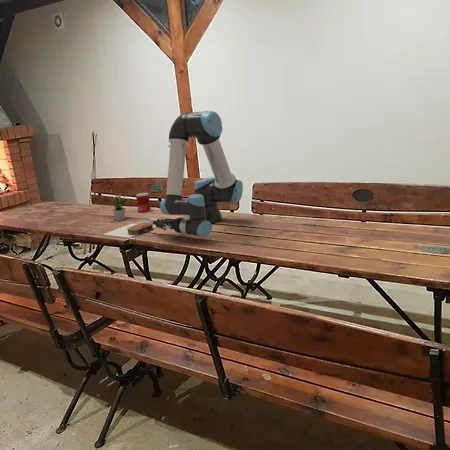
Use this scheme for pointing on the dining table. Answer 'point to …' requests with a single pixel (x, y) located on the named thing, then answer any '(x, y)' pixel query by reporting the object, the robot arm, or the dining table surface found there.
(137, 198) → the canned food
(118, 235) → the mat
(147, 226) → the tin
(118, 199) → the house plant
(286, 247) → the dining table surface
